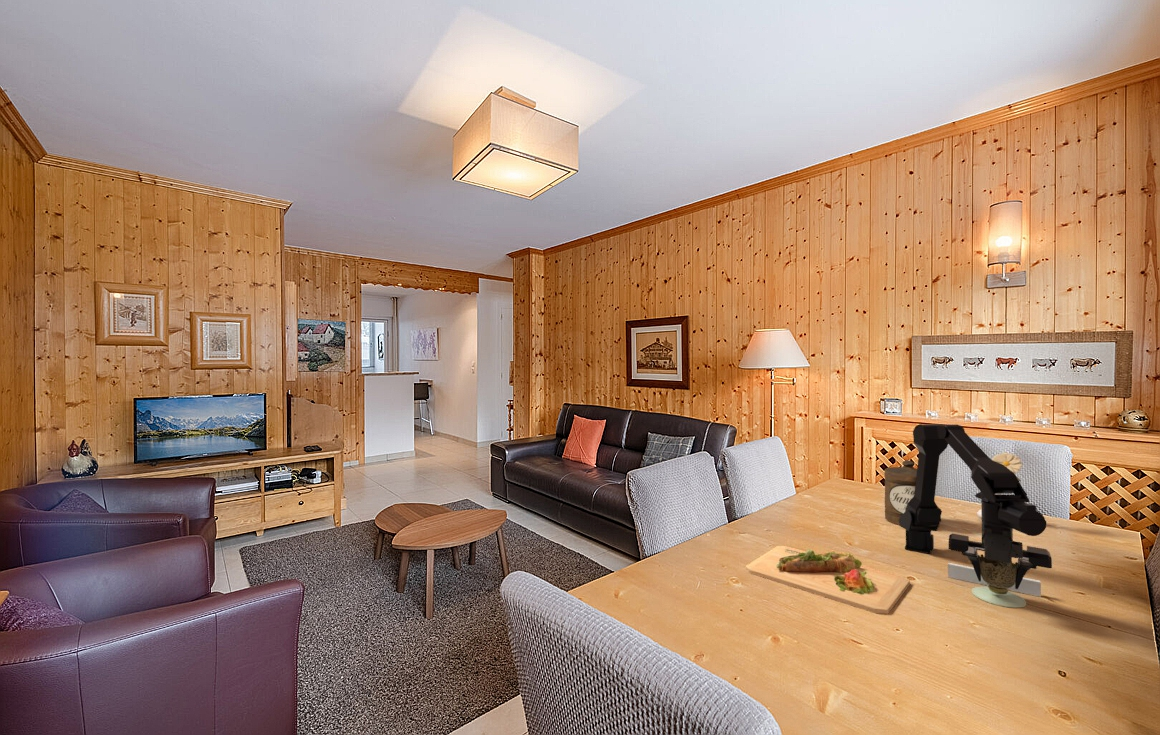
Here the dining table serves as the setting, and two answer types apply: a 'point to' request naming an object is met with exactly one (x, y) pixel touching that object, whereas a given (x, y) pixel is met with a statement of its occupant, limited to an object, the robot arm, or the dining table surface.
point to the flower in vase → (1009, 462)
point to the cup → (998, 574)
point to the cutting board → (832, 577)
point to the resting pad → (999, 598)
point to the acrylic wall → (969, 575)
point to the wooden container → (899, 490)
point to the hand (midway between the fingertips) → (997, 584)
